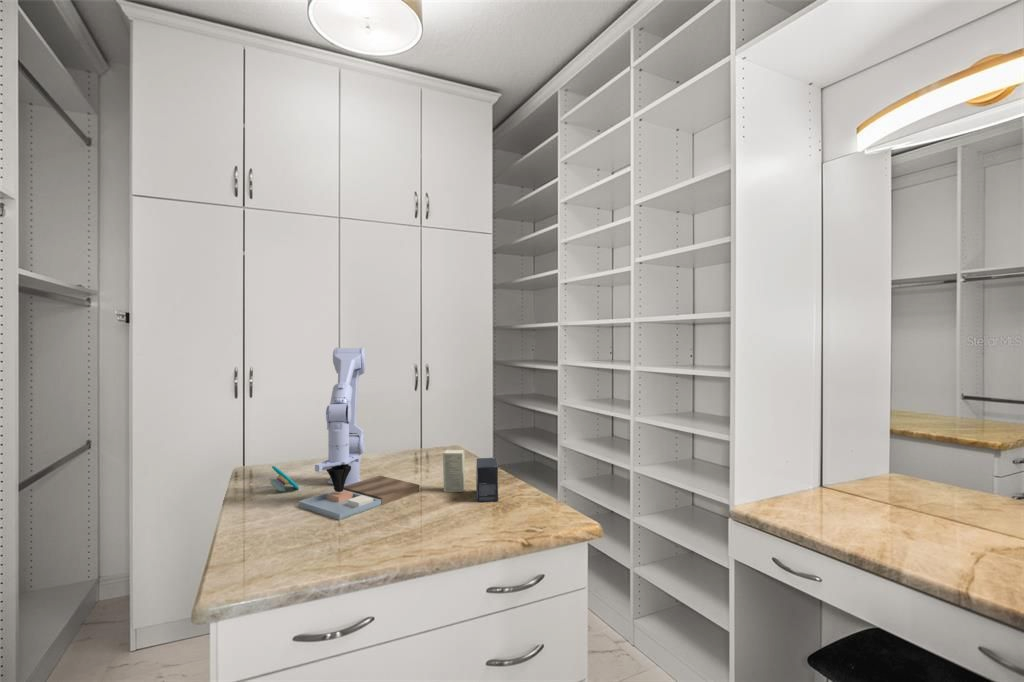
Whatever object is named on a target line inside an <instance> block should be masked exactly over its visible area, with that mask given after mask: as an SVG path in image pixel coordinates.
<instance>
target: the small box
mask: <svg viewBox="0 0 1024 682" xmlns="http://www.w3.org/2000/svg"><path fill="white" fill-rule="evenodd" d="M475 467H476V468H475V469H476V471H475V472H476V473H475V474H476V475H475V476H476V477H475V482H476V485H475V487H476V501H477V503H492V502H493V503H495V502H496V503H498V502H499V475H498V474H499V465H498V460H497V457H478V458H477V457H476V466H475Z"/></svg>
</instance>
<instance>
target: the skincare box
mask: <svg viewBox="0 0 1024 682" xmlns="http://www.w3.org/2000/svg"><path fill="white" fill-rule="evenodd" d="M442 459H443V460H442V462H443V463H442V466H443V467H442V468H443V469H442V470H443V473H442V474H443V492H445V493H451V492H452V493H464V491H465V488H466V464H465V463H466V462H465V461H466V460H465V449H446V450H444V451H443V453H442Z"/></svg>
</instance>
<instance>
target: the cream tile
mask: <svg viewBox="0 0 1024 682" xmlns="http://www.w3.org/2000/svg"><path fill="white" fill-rule="evenodd" d="M370 502H373V498H370V497H367V496H363V495H361V496H358V497H354V498H351V499H348V500H347V505H349V506H352V507H355V508H356V507H359V506H362V505H364V504H367V503H370Z"/></svg>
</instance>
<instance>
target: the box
mask: <svg viewBox="0 0 1024 682" xmlns="http://www.w3.org/2000/svg"><path fill="white" fill-rule="evenodd" d="M345 491H347V490H345ZM333 492H336V491H335V490H332V491H328V492H326V493H325V492H324V493H322V494H318V495H316V496H312V497H309V498H305V499H302V500H299V501H298V508H301V509H305V510H308V511H310V512H313V513H318V514H319V515H323V516H326V517H329V518H332V519H336V520H338V521H341V520H344V519H348V518H349V517H353V516H355V515H358V514H360V513H363V512H366V511H369V510H372V509H374V508H377V507H380V506H382V505H381V500H380V499H376V498H373V497H370V498H373V502H370V503H367V504H364V505H362V506H359V507H356V508H355V507H352V506H349V505H347V500H344V501H341V502H336V501H332V500H329V499H328V494H329V493H333ZM349 492H351V491H349ZM361 495H362V494H358V493H354V492H353V498H354V497H358V496H361ZM363 496H365V495H363ZM367 497H369V496H367Z"/></svg>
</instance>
